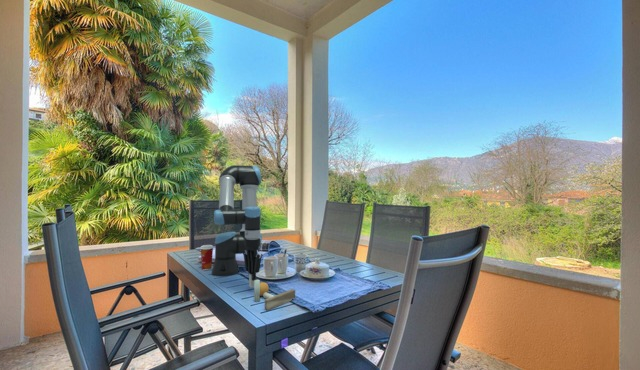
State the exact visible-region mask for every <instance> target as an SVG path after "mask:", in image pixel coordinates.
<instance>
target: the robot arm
mask: <svg viewBox="0 0 640 370" xmlns="http://www.w3.org/2000/svg"><path fill="white" fill-rule="evenodd" d="M218 184H219V186H220V187H219V188H220V189H219V198H218V199H219V201H218V209H215V210H214V211H213V222H214V225H219V226H225V225H226V226H228V225H242V227H241V229H240V230H239V233H238V234H237V232H236V231H226V232H222V233H219V234H217V235H216V236H215V238H214V239H215V241H214V244H215V246H214V247H215V249H214V250H215V251H214V252H215V253H214V262H213V264H212V268H211V275H213V276H216V277H227V276H232V275H236V274H238V273H239V272H238V271H240V270H239V269H240V267H239V263H238V260H237V256H236V255H240V254H241V255H242V256H243V260H244V267H245V271H246V272H247V273H248V288H254V280H257V274H258V273H259V272H260V270H261V263H262V258H263V256H264V255H263V253H260V250H261V248H262V239H263V238H262V237H263V234H262V233H261V213H262V212H261V207H260V206H257V198H258V197H257V190H258V188H260V185H261V184H262V176H261V169H260V168H259V166H257V165H237V164H234V165H231V166H228V167H226V168H224V170H223V171H222V172H221V173H220V175H219V178H218ZM235 185H239V188H240V189H241V191H242V192H241V194H242V200H241V201H242V203H241V204H242V205H241V206H242V208H241V209H234V208H235V207H234V206H235V200H234V198H235Z"/></svg>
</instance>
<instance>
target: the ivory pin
mask: <svg viewBox="0 0 640 370" xmlns="http://www.w3.org/2000/svg"><path fill="white" fill-rule="evenodd" d="M273 296H275V295H273V294H271V293H269V292H268V293H266V292H265V293H264V294H263V296H262V297H263V298H264V299H268V298H270V297H273Z"/></svg>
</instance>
